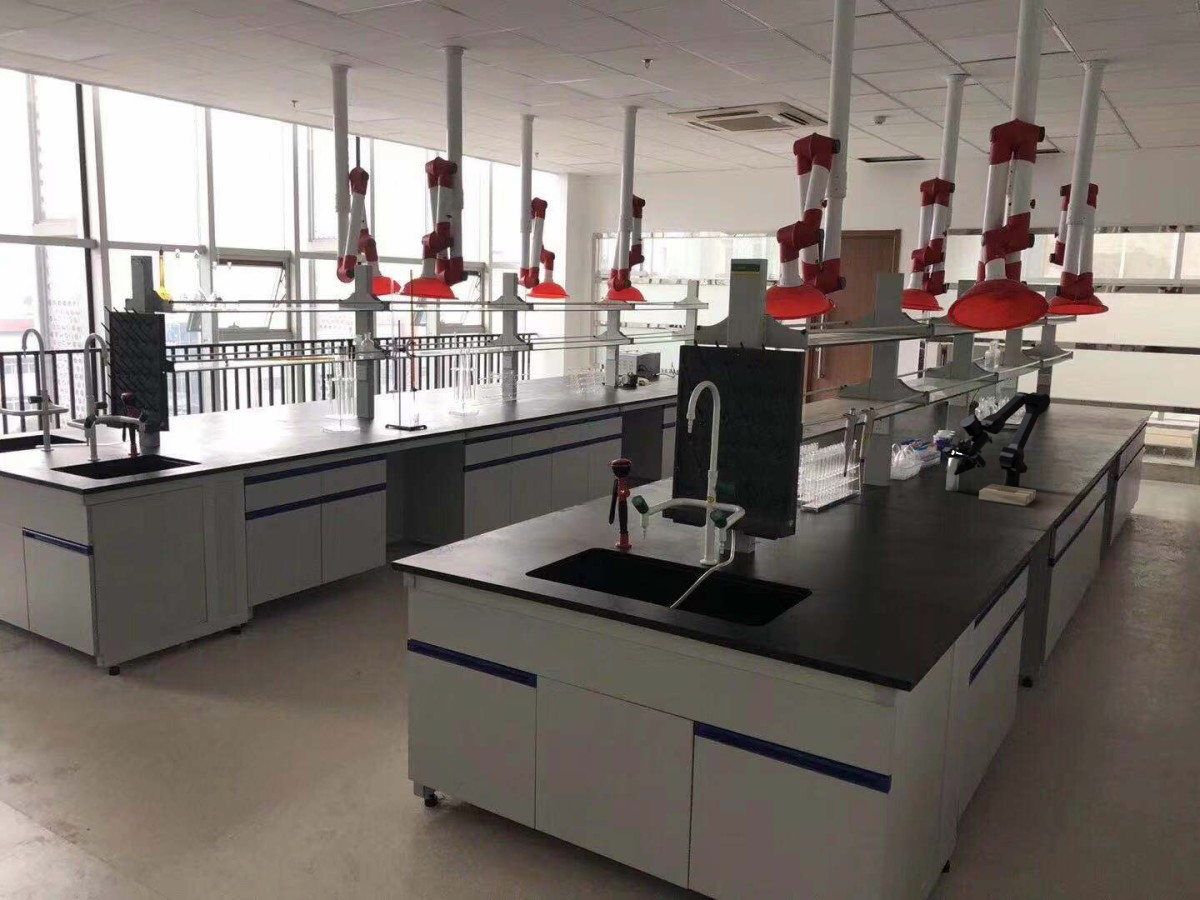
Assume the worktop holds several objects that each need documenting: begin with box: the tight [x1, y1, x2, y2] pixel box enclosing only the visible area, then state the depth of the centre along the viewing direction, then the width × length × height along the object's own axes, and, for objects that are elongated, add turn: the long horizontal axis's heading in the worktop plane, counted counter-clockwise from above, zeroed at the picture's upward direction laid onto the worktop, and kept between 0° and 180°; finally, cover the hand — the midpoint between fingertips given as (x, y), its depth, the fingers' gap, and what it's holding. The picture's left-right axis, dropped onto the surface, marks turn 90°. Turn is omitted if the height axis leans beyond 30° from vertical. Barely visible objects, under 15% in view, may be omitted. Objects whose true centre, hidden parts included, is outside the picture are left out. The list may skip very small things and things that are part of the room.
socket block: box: [978, 483, 1037, 508], centre depth 344 cm, size 16×16×4 cm
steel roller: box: [945, 457, 961, 492], centre depth 358 cm, size 4×4×12 cm
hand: (950, 473), depth 357 cm, fingers closed on steel roller, 4 cm apart
